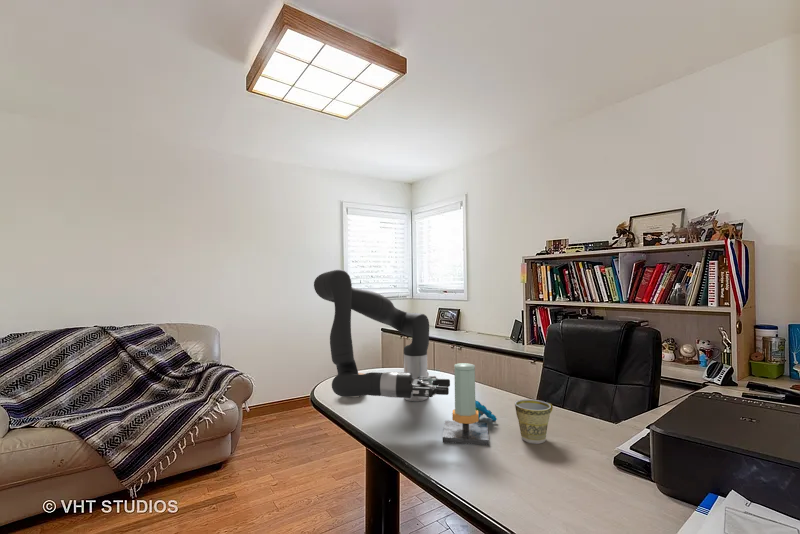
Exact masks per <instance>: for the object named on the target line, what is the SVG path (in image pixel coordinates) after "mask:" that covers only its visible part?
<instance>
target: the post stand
mask: <svg viewBox="0 0 800 534" xmlns="http://www.w3.org/2000/svg"><path fill="white" fill-rule="evenodd" d="M488 429H489V428H488V423H487V422H475V423H472V424H464V423H458V422H456V421H453V420H445V421H444V427H443V432H442V443H444V444H459V445H460V444H461V445H473V446H474V445H475V446H477V445H478V446H490V438H489V437H490V436H489V431H488Z"/></svg>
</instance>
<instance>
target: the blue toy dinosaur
mask: <svg viewBox="0 0 800 534" xmlns="http://www.w3.org/2000/svg"><path fill="white" fill-rule="evenodd" d="M475 409H476V410H477V411H478V415H479V419H480V418H481V417H482V416H483V415H485V416H486V417H487V418H488V419H490V420H491V421H494V422H496V421H497V420H498V418H497V416H496V415H495V414H493V412H492V411H491V410H489V409H487V407H486V406H485V405H484V404H482V403H481V402H480V401H478V400H477V399H475Z"/></svg>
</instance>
